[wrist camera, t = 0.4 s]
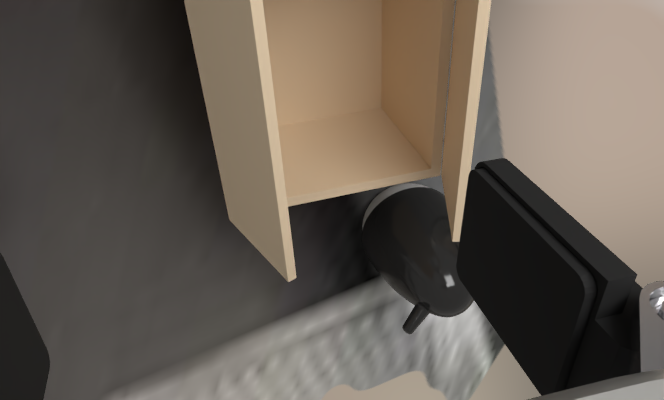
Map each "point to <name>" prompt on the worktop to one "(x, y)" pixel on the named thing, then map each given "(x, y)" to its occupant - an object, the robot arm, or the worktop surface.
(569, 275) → the robot arm
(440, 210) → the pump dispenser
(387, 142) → the carton
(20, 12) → the worktop surface
